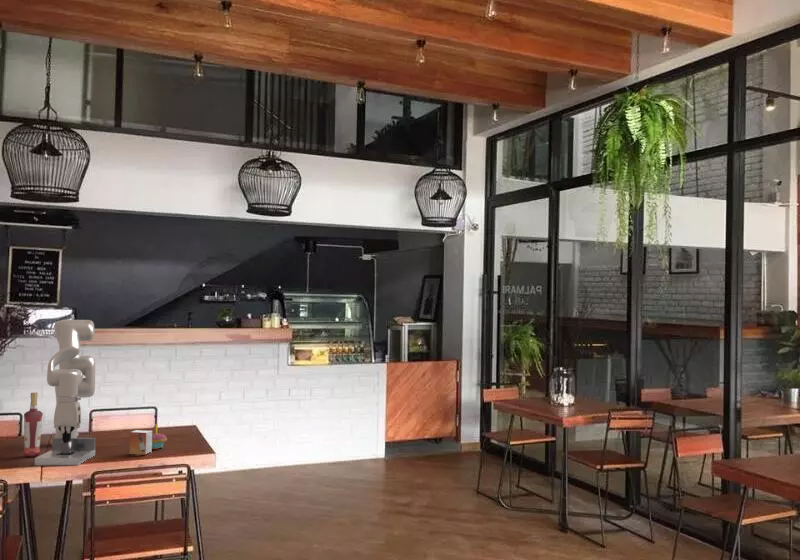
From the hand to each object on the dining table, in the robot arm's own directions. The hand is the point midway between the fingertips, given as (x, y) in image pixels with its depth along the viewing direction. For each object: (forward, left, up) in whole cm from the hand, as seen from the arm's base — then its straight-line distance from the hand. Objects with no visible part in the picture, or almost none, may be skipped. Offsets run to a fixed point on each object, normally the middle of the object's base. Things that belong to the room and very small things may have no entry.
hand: (66, 441), depth 291 cm
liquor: (-8, -18, -8) cm, 21 cm away
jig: (0, 0, -8) cm, 8 cm away
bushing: (0, 0, -8) cm, 8 cm away
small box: (-12, +28, -8) cm, 31 cm away
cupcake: (-24, +32, -8) cm, 41 cm away
